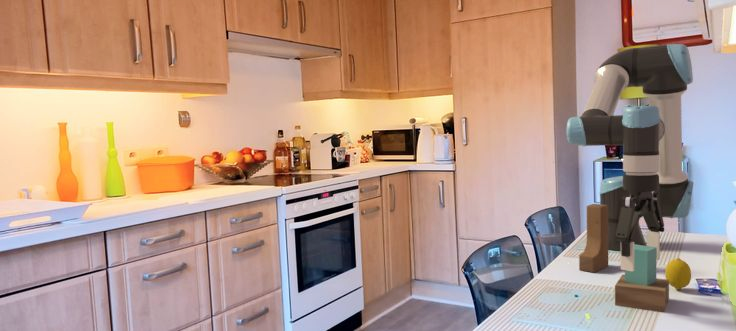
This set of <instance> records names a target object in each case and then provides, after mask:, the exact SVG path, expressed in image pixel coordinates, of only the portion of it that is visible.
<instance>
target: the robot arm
mask: <svg viewBox="0 0 736 331" xmlns="http://www.w3.org/2000/svg"><path fill="white" fill-rule="evenodd" d="M693 80H694V76H693V66H692V60H691V55H690V51H689V48H688V46H687V45H686V44H682V43H672V44H671V43H668V44H666V43H665V44H659V45H651V46H650V45H649V46H643V47H642V46H641V47H632V48H627V49H623V50H621V51H618V52H616V53H615V54H613V55H611V56H609V57H608V58H607V59H605V60H604V62H603V63H601V64H600V65H599V67H598V68H597V70H596V73H595V74H594V78H593V81H594V85H593V88H592V89H591V90H592V91H591V93H590V95H589V97H588V100H587V102H586V104H585V106H584V109H583V112H582V114H581V116H580V115H577V116H572V117H569V118H568V120H567V123H566V129H565V130H566V138H567V142H568V144H570V145H571V146H581V147H590V146H591V147H592V146H595V147H598V146H622V158H621V162H622V171H623V172H624V173H623V175H619V176H612V177H607V178H604V179H602V180H601V182H600V190H599V198H600V201H599V202H600V203H599V204H602V205H608V250H609V249H610V250H609V251H619V252H620V270H622V271H625V270H627V271H634V244H636V245H643V246H650V247H657V260H658V261H659V260H660V258H661V257H660V255H661V254H660V248H661V246H660V245H661V244H660V243H661V242H660V238H661V236H660V235H661V234H660V232H661V233H665V223H664V218H667V219H668V218H669V219H673V218H677V219H684V218H686V217H688V216H689V214H690V213H689V212H690V207H691V202H692V194H693V189H694V181H691V180H689V175H688V174H687V173H686V172H685V171H683V144H682V143H683V142H682V141H683V139H682V138H683V137H682V134H683V133H682V132H683V130H682V129H683V128H682V126H683V125H682V95H683V94H684V93H686V92H687V90H688V85H691V84H692V83H693ZM638 87H640V88H642V94H643V95H645V97H647V98H648V105H637V106H636V105H635V106H627V107H626V106H625V108H623V110H622V114H621V115H619V114H618V115H615V111H616V109H617V106H618V103H619V100H620V97H621V95H622V92H624V90H626V88H638ZM641 218H643V219H644V223H645V224H646V227H647V229H648V230H646V240H645V236H644V234H643V231H642V228H641V226H640V220H641Z"/></svg>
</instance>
